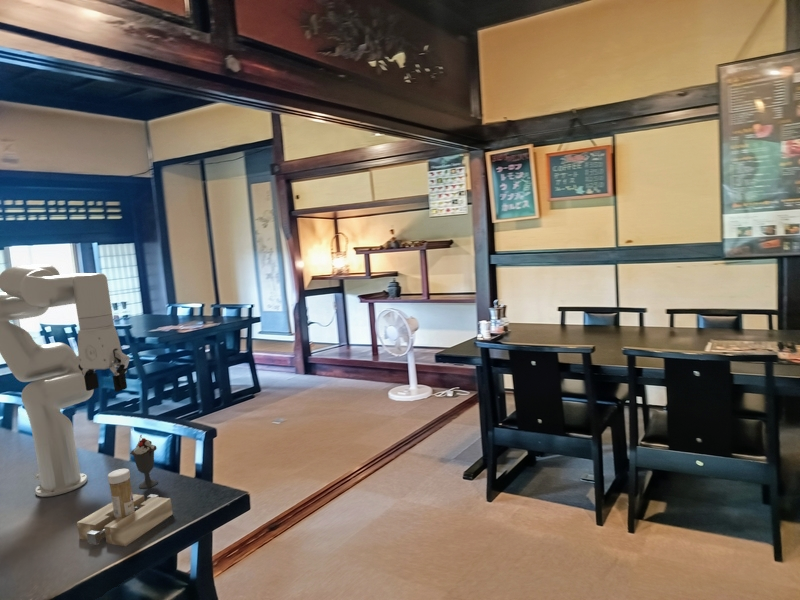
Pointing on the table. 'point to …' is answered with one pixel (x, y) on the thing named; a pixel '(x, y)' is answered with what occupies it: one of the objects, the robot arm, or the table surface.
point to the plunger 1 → (95, 536)
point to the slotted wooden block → (126, 520)
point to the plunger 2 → (148, 498)
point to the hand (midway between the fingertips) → (106, 389)
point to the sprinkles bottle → (121, 493)
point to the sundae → (145, 461)
